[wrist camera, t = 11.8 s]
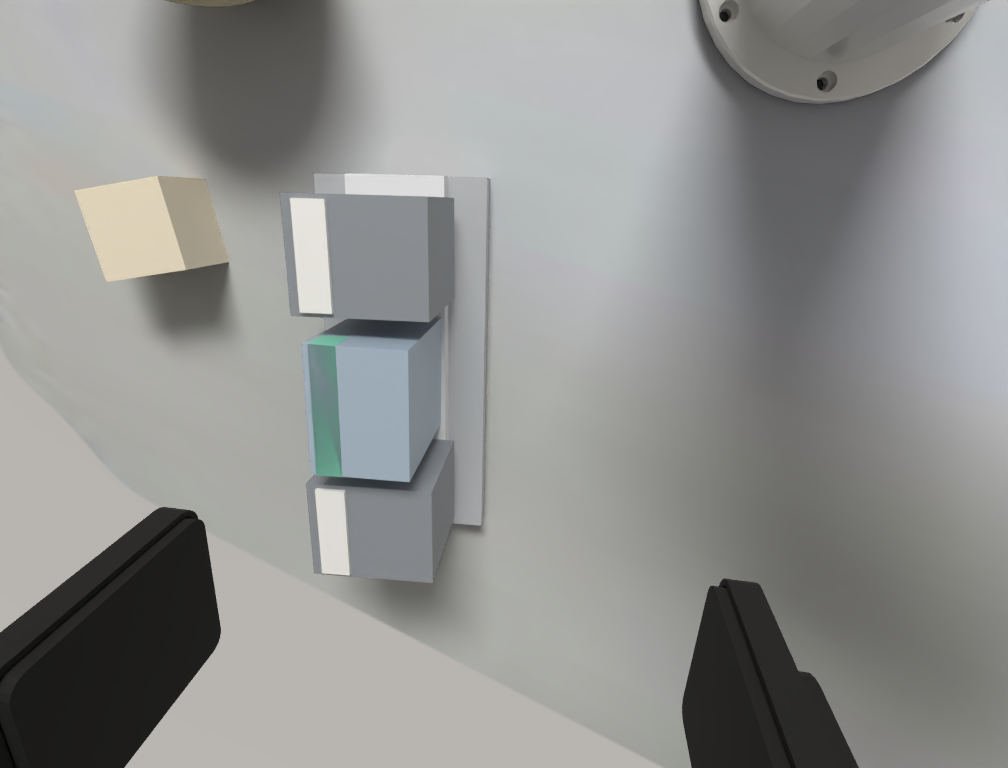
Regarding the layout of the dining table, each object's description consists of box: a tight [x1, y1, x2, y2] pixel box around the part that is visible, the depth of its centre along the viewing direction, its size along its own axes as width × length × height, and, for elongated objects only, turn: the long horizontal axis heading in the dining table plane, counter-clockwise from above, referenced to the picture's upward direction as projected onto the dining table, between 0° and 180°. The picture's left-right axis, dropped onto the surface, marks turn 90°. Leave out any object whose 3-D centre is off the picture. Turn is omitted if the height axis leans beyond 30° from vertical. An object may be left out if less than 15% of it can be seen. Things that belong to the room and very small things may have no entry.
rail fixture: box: [280, 173, 490, 583], centre depth 29 cm, size 20×9×8 cm, turn 178°
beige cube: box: [74, 176, 229, 282], centre depth 30 cm, size 4×4×4 cm
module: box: [301, 317, 442, 482], centre depth 27 cm, size 6×4×7 cm
